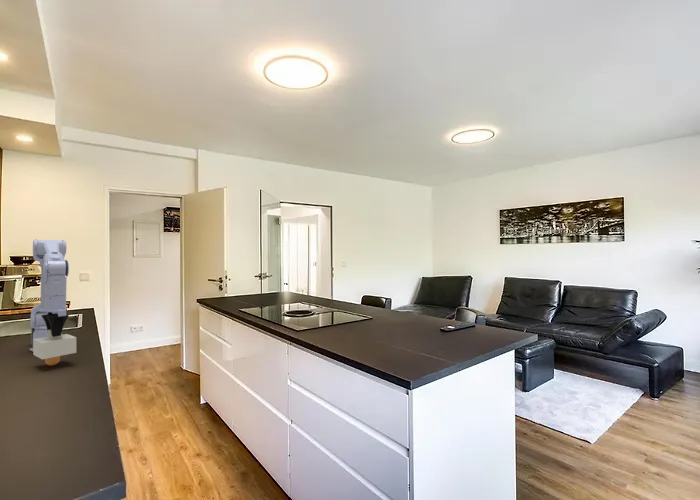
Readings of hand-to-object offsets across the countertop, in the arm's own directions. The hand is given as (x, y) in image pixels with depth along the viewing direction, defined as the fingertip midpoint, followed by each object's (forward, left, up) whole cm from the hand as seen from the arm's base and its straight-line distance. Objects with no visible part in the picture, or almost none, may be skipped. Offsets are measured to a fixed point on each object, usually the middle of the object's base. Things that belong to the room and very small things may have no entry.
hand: (54, 335), depth 122 cm
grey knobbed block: (0, 0, -6) cm, 6 cm away
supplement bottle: (-41, +7, -11) cm, 43 cm away
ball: (-1, 0, -8) cm, 9 cm away
